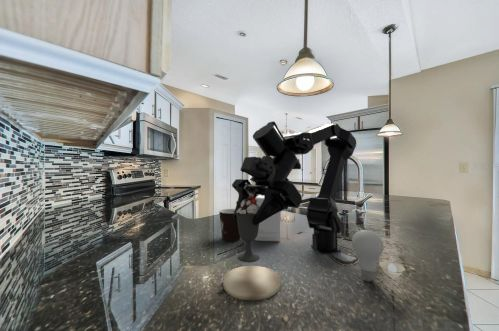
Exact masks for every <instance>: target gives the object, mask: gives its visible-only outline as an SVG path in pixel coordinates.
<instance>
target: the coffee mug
mask: <svg viewBox="0 0 499 331" xmlns="http://www.w3.org/2000/svg"><path fill="white" fill-rule="evenodd" d="M233 211H235V208H224V209H221V210H219V211H218V213H219V220H220V222H219V223H220V231H221V237H222V238H221V239H222V241H223V242H227V243H235V242H239V241H240V240H241V237H240V235H239V231H238V223H237V220H235V219H234V218H233V215H234V212H233Z"/></svg>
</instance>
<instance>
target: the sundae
mask: <svg viewBox="0 0 499 331" xmlns="http://www.w3.org/2000/svg"><path fill="white" fill-rule="evenodd" d="M255 191H256V192H257V191H258V190H257V189H255ZM255 191H254V192H255ZM254 192H253V193H254ZM256 192H255V193H256ZM255 193H254V194H255ZM252 195H253V194H252ZM252 195H251V196H249V197H248V199H245V200H243V201H242V202H241V203H240V202H238V200H236V202H235V203H236V205H237V210H235V211H233V212H234V213H235V214H236V216H237V223H238V231H239V235H240V239H241V240H243V241H244V243H245V251H244V253H243V252H242V253H240V254H239V255H238V256H237V257H236V258H237V260H238V261H240V262H242V263H255V262H258V261H259V260H260V259H261V256H260V255H259V254H257V253H254V252H253V250H252V243H253V242H254V241H256V240H255V238H256V237H257V235H258V230H259V224H258V225H256V226H255V225H254V224H253V223H252V221H253V219H254V216H255V215H256V213H257V211H258V209H259V208H260V207H259V206H258V205H257V204H256V203H257V200H256V199H254V195H253V197H252Z"/></svg>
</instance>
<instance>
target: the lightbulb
mask: <svg viewBox="0 0 499 331" xmlns="http://www.w3.org/2000/svg"><path fill="white" fill-rule="evenodd" d="M351 247H352V249H353V251H354V253H355V254H356V257H357V258H358V265H359V268H360V273H361V274H360V275H361V278H362V279H363V280H364V281H366V282H372V281H374V280H375V271H376V269H377V263H378V260H379V258H380V257H381V255H382V254H383V251H384V242H383V241H382V238H381V237H380V235H378V234H377V233H376V232H374V231H372V230H370V229H369V230H368V229H361V230H358V231H356V232H355V233H354V234H353V236H352V239H351Z"/></svg>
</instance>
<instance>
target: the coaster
mask: <svg viewBox="0 0 499 331" xmlns="http://www.w3.org/2000/svg"><path fill="white" fill-rule="evenodd" d="M280 279H281V278H280V276H279V274H278V273H277V272H276V271H274V270H272V269H271V268H268V267H264V266H258V265H244V266H239V267H236V268H233V269H230V270H229V271H228V272H226V273H225V274H224V276H223V279H222V280H223V283H222V286H223V289H224V292H226V293H227V294H228V295H229V296H231V297H232V298H235V299H237V300H243V301H261V300H265V299H268V298H271V297H272V296H275V294H277V293H278V292H279V290H280V288H281V280H280Z"/></svg>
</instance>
